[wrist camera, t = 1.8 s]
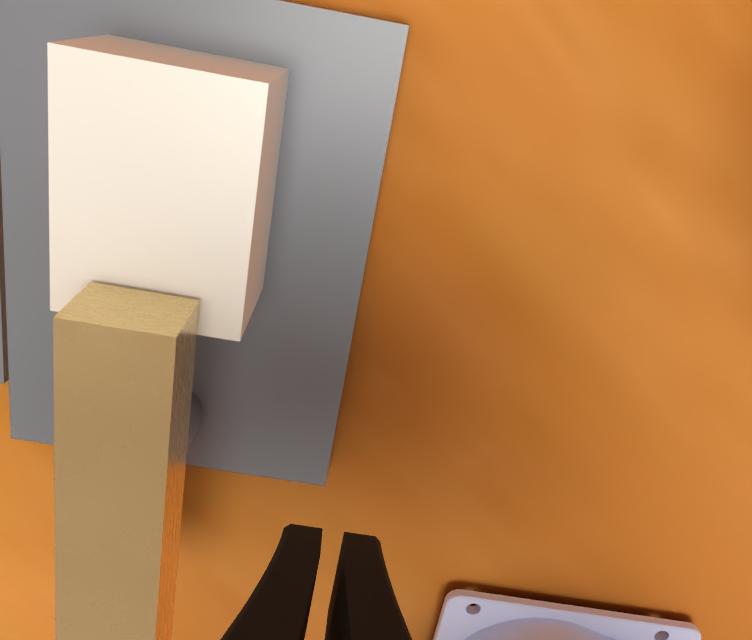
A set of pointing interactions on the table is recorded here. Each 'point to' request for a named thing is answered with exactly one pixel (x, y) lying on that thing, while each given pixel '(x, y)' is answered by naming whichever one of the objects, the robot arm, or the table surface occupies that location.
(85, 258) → the white rectangular block
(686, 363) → the table surface
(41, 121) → the panel
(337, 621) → the robot arm
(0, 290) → the mat
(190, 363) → the tan rectangular bar
